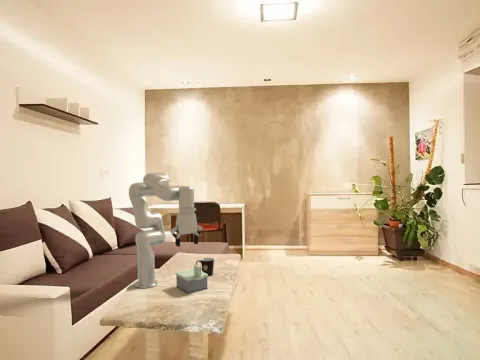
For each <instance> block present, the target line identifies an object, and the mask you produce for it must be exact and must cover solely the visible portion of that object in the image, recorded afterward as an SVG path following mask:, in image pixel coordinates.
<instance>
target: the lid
mask: <svg viewBox="0 0 480 360" xmlns="http://www.w3.org/2000/svg"><path fill="white" fill-rule="evenodd" d="M201 269H202V265H201V266H200V265H198V264H197V265H196V264H194V265H193V269H188V270H183V271H177V272H175V275H177V276H179V277H181V278H183V279H185V280H187V281H189V280H201V279H204V277H207V278H208V277H209V276H208V274H206V273H204V272H202V270H201Z"/></svg>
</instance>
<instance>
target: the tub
mask: <svg viewBox="0 0 480 360" xmlns="http://www.w3.org/2000/svg"><path fill="white" fill-rule="evenodd" d="M175 275H176V274H175ZM175 280H176V288H178V289H179V290H181V291H183V292H184V293H186V294H188V295H189V294H192V293H196V292H201V291H204V290H208V277H204V279H201V280H189V281H187V280H185V279H183V278H181V277H179V276H177V275H176V279H175Z"/></svg>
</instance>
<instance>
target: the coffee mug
mask: <svg viewBox="0 0 480 360" xmlns="http://www.w3.org/2000/svg"><path fill="white" fill-rule="evenodd" d="M198 262H199V263H200V264H201V272H204V273H206V274H208V277H212V276H213V275H214V267H215V258H214V257H203V258H201V259H200V260H197V261H196V262H195V265H198Z"/></svg>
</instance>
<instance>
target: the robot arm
mask: <svg viewBox="0 0 480 360" xmlns="http://www.w3.org/2000/svg"><path fill="white" fill-rule="evenodd" d="M128 197H129V200H130V203H131V205H132V209H133V217H134V222H135V225H136V228H137V229H140V230H141V229H142V230H141V231H139V232H137V233H136V234H135V239H134V241H135V246H136V253H137V254H136V257H137V258H136V259H137V282H135V283H134V285H135V287H136V288H137V289H149V288H153V287H156V286H157V285H158V284H159V283H158V280H156V279H155V278H156V277H155V276H156V275H155V274H156V271H155V266H156V265H155V263H156V262H155V252H154V251H153V249H152V247H154V246H155V247H156V246H160V245H163V244H164V243H165V241H166V233H165V227H164V221H163V220H164V219H163V217H162V214H161V213H160V212H159V211H150V210H149V205H148V203H147V201H146V199H144V197H146V198H147V197H156V198H158V199H160V200H162V201H165V202H172V201H174V202H175V201H178V213H177V215H176V220H175V226H174V227H172V228H171V229H170V230H169V231H170V233H171V236H172V237H174V240H175V241H174V243H175V246H176V247H178V248H180V247H181V239H180V237H181V236H182V235H189V234H193V244H194V245H198V244H199V237H200V234H201V233H202V231H203V226H202V225H200V224H198V221H197V215H196V213H195V212H196V211H197V207H195V188H194V187H193V186H191V185H187V186H185V185H170V178H169V175H167V174H166V173H165V172H151V173H149V172H148V173H146V174H145V175H144V176H143V179H142V182H140V181H139V182H135V183H134V182H133V183H132V184H130V186H129V188H128ZM143 229H148V230H143Z"/></svg>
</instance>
